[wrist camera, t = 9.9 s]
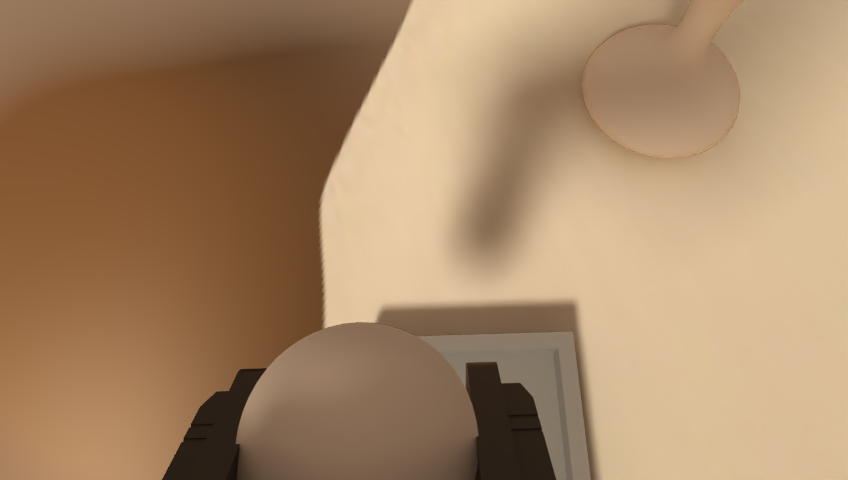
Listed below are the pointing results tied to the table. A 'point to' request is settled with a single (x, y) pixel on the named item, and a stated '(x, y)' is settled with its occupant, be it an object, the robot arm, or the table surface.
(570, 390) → the tray
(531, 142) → the table surface
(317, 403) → the shaker
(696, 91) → the flower in vase
